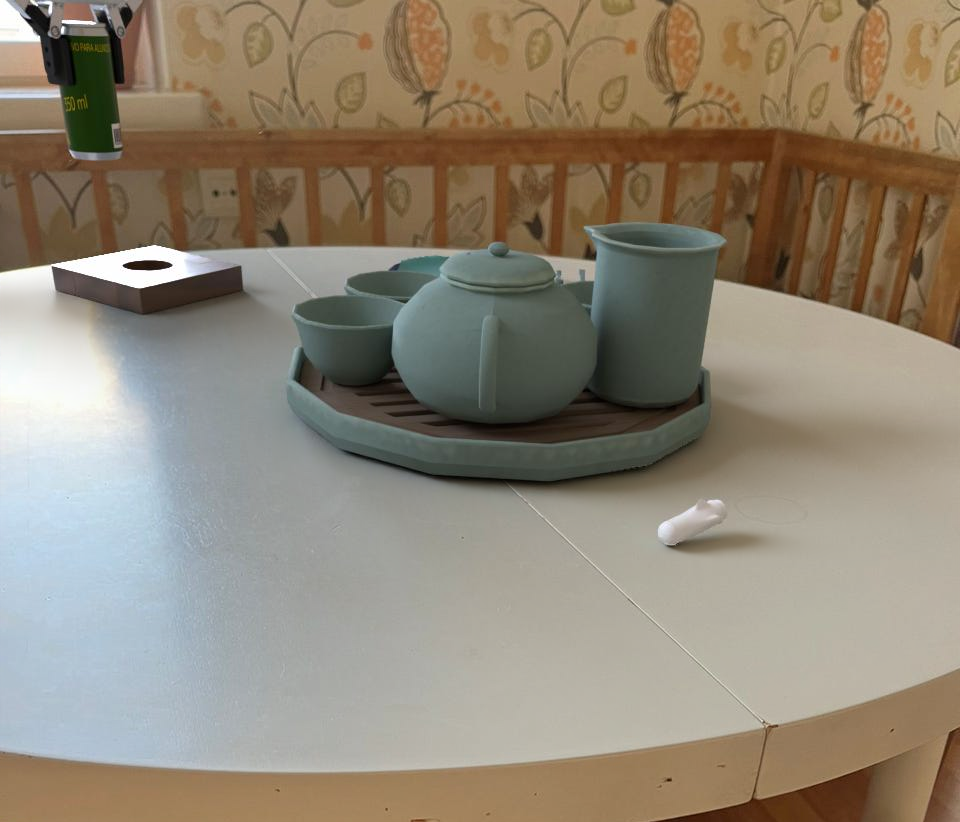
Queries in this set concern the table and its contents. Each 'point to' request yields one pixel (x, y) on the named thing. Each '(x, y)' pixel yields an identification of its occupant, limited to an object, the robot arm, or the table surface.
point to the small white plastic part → (692, 521)
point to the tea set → (516, 359)
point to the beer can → (91, 94)
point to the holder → (147, 278)
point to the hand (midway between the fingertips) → (87, 81)
